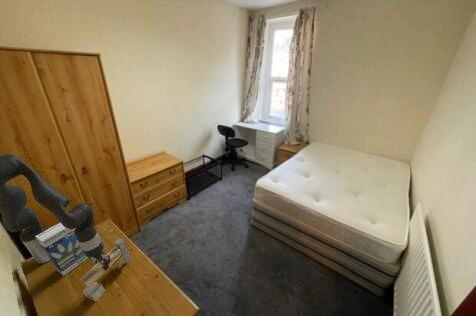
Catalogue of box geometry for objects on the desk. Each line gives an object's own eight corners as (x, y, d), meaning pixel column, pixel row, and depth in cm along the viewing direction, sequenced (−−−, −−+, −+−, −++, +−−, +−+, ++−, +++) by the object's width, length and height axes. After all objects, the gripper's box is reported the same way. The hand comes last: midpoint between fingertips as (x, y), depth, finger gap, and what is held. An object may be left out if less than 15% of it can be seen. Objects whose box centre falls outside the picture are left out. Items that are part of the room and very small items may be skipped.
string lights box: (63, 276, 102) (40, 242, 91) (56, 269, 105) (33, 236, 94) (90, 256, 113) (73, 223, 101) (83, 250, 116) (65, 218, 104)
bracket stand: (86, 296, 93) (72, 276, 86) (124, 256, 112) (116, 236, 105) (96, 301, 91) (83, 281, 84) (133, 260, 110) (125, 240, 103)
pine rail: (83, 284, 90) (79, 279, 88) (116, 252, 105) (114, 246, 103) (89, 287, 88) (85, 282, 87) (122, 254, 104) (120, 249, 102)
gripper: (71, 245, 87) (85, 269, 95) (94, 254, 83) (107, 279, 91) (88, 233, 94) (99, 256, 101) (110, 240, 90) (120, 264, 97)
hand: (103, 267), depth 96 cm, fingers closed on pine rail, 4 cm apart
